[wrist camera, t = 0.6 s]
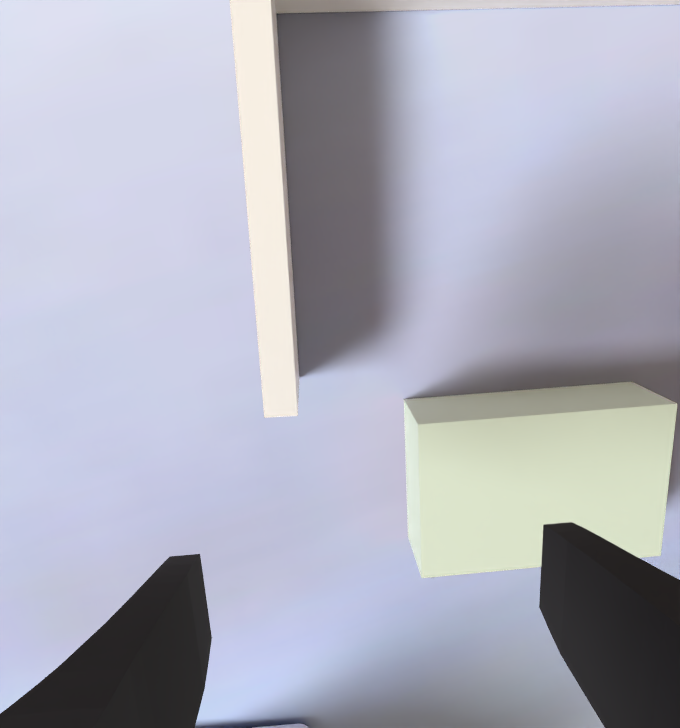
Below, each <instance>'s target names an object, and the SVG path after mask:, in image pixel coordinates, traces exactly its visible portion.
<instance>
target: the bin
mask: <svg viewBox="0 0 680 728" xmlns="http://www.w3.org/2000/svg"><path fill="white" fill-rule="evenodd" d="M677 4H680V0H230V9H231V21H232V33H233V45H234V57H235V69H236V81H237V93H238V106H239V118H240V130H241V142H242V154H243V166H244V178H245V190H246V202H247V214H248V226H249V238H250V250H251V263H252V275H253V287H254V299H255V311H256V323H257V335H258V347H259V359H260V371H261V383H262V395H263V408H264V418H268V417H285V416H298V398H299V364H298V348H297V332H296V317H295V301H294V285H293V269H292V253H291V237H290V222H289V206H288V190H287V174H286V158H285V142H284V127H283V111H282V95H281V79H280V63H279V47H278V31H277V16H276V13H319V12H364V11H408V10H453V9H498V8H542V7H587V6H632V5H677Z"/></svg>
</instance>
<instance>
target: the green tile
mask: <svg viewBox="0 0 680 728" xmlns="http://www.w3.org/2000/svg"><path fill="white" fill-rule="evenodd" d="M676 413H677V403H675V402H673V401H671V400H669V399H667V398H665V397H663V396H661V395H658V394H656V393H654V392H652V391H650V390H648V389H646V388H644V387H642V386H640V385H638V384H636V383H634V382H619V383H606V384H593V385H581V386H568V387H555V388H542V389H529V390H516V391H504V392H491V393H478V394H465V395H452V396H440V397H427V398H414V399H404V421H405V454H406V487H407V519H408V538H409V541H410V544H411V547H412V550H413V553H414V556H415V559H416V562H417V565H418V569H419V572H420V575H421V578H429V577H439V576H450V575H461V574H471V573H482V572H492V571H503V570H514V569H524V568H535V567H541V564H542V543H543V525H544V524H556V523H567V522H572V523H575V524H577V525H579V526H581V527H583V528H585V529H587V530H589V531H591V532H593V533H595V534H596V535H598V536H600V537H602V538H604V539H606V540H607V541H609V542H611V543H613V544H615V545H616V546H618V547H620V548H622V549H623V550H625V551H627V552H629V553H631V554H632V555H634V556H636V557H638V558H642V557H652V556H661V547H662V538H663V529H664V520H665V511H666V502H667V494H668V485H669V476H670V467H671V458H672V449H673V440H674V431H675V422H676Z"/></svg>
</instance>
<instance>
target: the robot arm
mask: <svg viewBox="0 0 680 728" xmlns="http://www.w3.org/2000/svg"><path fill="white" fill-rule="evenodd" d="M539 607H540V610H541V612H542V614H543V616H544V619H545V621H546V623H547V626H548V628H549V630H550V633H551V635H552V637H553V639H554V641H555V643H556V645H557V647H558V650H559V652H560V654H561V656H562V657H563V659H564V661H565V662H566V664H567V666H568V667H569V669H570V671H571V672H572V674H573V676H574V677H575V679H576V681H577V682H578V684H579V686H580V687H581V689H582V691H583V692H584V694H585V696H586V697H587V699H588V700H589V702H590V704H591V705H592V707H593V709H594V710H595V712H596V714H597V715H598V717H599V718H600V720H601V722H602V723H603V725H604V727H605V728H680V580H679V579H677V578H675V577H673V576H671V575H669V574H667V573H665V572H663V571H662V570H660V569H658V568H656V567H654V566H652V565H651V564H649V563H647V562H645V561H643V560H641V559H640V558H638V557H636V556H634V555H632V554H631V553H629V552H627V551H625V550H623V549H622V548H620V547H618V546H616V545H615V544H613V543H611V542H609V541H607V540H606V539H604V538H602V537H600V536H598V535H596V534H595V533H593V532H591V531H589V530H587V529H585V528H583V527H581V526H579V525H577V524H575V523H572V522H567V523H556V524H544V525H543V543H542V564H541V585H540V606H539ZM211 639H212V637H211V630H210V623H209V616H208V608H207V601H206V594H205V587H204V580H203V573H202V566H201V559H200V554H195V555H184V556H172V557H169V558H168V559H167V560H166V561H165V562H164V563H163V564H162V565H161V566H160V567H159V568H158V569H157V570H156V571H155V573H154V574H153V575H152V576H151V577H150V578H149V579H148V580H147V581H146V582H145V583H144V584H143V585H142V586H141V587H140V588H139V589H138V590H137V591H136V593H135V594H134V595H133V596H132V597H131V598H130V599H129V600H128V601H127V602H126V603H125V604H124V605H123V606H122V607H121V608H120V609H119V610H118V611H117V612H116V613H115V614H114V615H113V616H112V617H111V618H110V619H109V620H108V621H107V622H106V623H105V624H104V625H103V626H102V627H101V628H100V629H99V630H98V631H97V632H96V633H94V634H93V635H92V636H91V637H90V638H89V639H88V640H87V641H86V642H85V643H84V644H83V645H82V646H81V647H79V648H78V649H77V650H76V651H75V652H74V653H73V654H72V655H71V656H70V657H69V658H68V659H67V660H65V661H64V662H63V663H62V664H61V665H60V666H59V667H58V668H56V669H55V670H54V671H53V672H52V673H51V674H49V675H48V676H47V677H46V678H45V679H44V680H42V681H41V682H40V683H39V684H38V685H36V686H35V687H34V688H33V689H31V690H30V691H29V692H28V693H26V694H25V695H24V696H23V697H21V698H20V699H19V700H17V701H16V702H15V703H14V704H12V705H11V706H10V707H9V708H7V709H6V710H5V711H3V712H2V713H1V714H0V728H194V727H195V723H196V720H197V716H198V712H199V708H200V704H201V700H202V696H203V692H204V688H205V681H206V675H207V668H208V661H209V654H210V646H211ZM254 728H309V727H308V726H306V725H304V724H288V725H277V726H266V727H254Z"/></svg>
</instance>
